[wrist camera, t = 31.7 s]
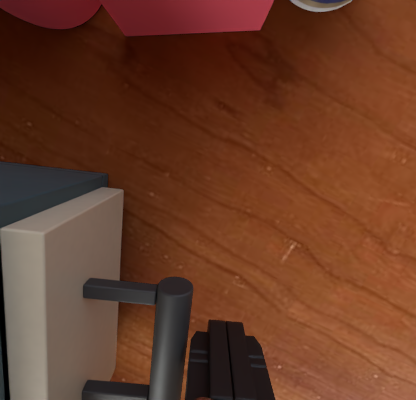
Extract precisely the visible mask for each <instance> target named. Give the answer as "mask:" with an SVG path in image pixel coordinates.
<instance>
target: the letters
mask: <svg viewBox="0 0 416 400" xmlns="http://www.w3.org/2000/svg"><path fill="white" fill-rule="evenodd" d="M273 2H274V0H0V8H1V9H3V10H4V11H6V12H8V13H10V14H12V15H13V16H15V17H17V18H20V19H22V20H24V21H26V22H29V23H32V24H34V25H37V26H41V27H45V28H50V29H69V28H73V27H76V26H79V25H81V24H83V23H85V22H86V21H88V20H89V19H90V18H91V17H92V16H93V15H94V14H95V13H96V12H97V11H98V9H99V8H100V6H101V4H102V5H103V7H104V8H105V9H106V11H107V12H108V13H109V15H110V16H111V17H112V19H113V20H114V21H115V23H116V24H117V25H118V27H119V28H120V29H121V31H122V32H123V33H124V35H125V36H145V35H167V34H189V33H211V32H233V31H255V30H260V29H261V27H262V25H263V23H264V21H265V19H266V17H267V15H268V12H269V10H270V8H271V6H272V4H273Z"/></svg>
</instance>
